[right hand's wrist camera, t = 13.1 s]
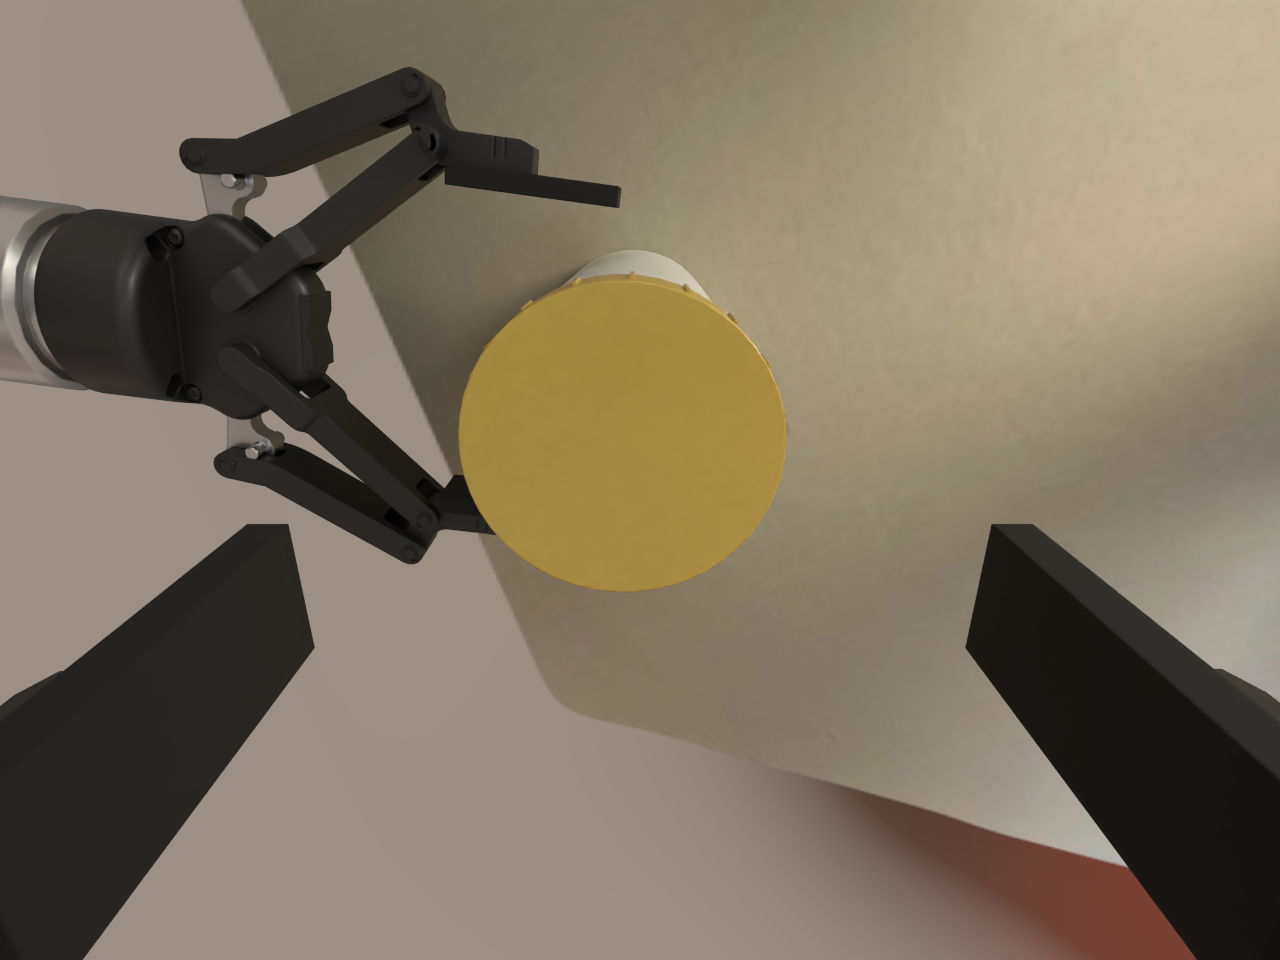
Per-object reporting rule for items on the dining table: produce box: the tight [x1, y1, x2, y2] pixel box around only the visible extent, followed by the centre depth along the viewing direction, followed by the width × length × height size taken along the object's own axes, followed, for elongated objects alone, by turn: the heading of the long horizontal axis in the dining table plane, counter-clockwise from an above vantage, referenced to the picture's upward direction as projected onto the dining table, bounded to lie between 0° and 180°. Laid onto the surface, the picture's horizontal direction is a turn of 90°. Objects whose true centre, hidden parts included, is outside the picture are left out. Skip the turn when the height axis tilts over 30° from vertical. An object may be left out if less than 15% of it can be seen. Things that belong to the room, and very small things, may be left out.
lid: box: [458, 271, 786, 592], centre depth 19 cm, size 9×9×2 cm
